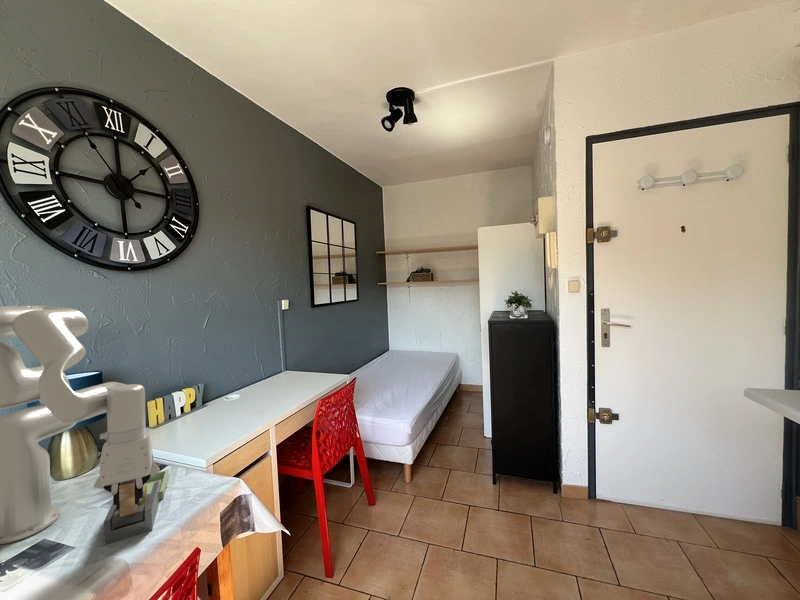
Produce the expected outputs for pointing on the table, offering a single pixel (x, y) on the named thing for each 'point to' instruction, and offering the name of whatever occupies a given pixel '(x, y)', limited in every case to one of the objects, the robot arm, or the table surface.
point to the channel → (135, 527)
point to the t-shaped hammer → (128, 506)
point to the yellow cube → (145, 492)
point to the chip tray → (162, 479)
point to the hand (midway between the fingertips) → (128, 503)
